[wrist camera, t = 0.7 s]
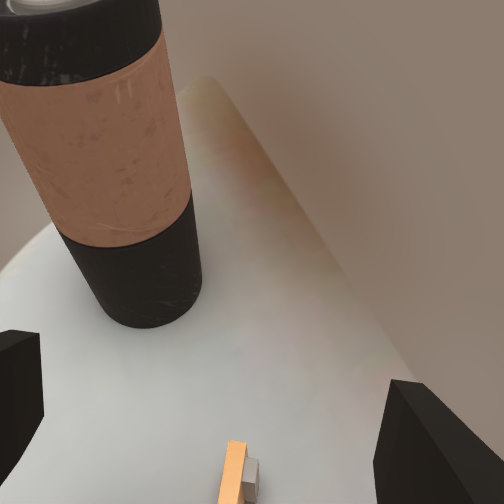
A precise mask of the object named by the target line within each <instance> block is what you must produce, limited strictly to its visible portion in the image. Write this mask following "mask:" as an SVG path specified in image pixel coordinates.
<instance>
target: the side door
mask: <svg viewBox="0 0 504 504" xmlns="http://www.w3.org/2000/svg"><path fill="white" fill-rule="evenodd" d="M258 487H259V463H258V459H254V458H248V453H247V443H244V442H238V441H231V440H229V442H228V448H227V454H226V459H225V465H224V470H223V476H222V482H221V487H220V493H219V498H218V504H245V501H248V502H254V503H256V502H257V494H258Z"/></svg>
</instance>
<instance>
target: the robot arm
mask: <svg viewBox="0 0 504 504" xmlns="http://www.w3.org/2000/svg"><path fill="white" fill-rule="evenodd" d="M43 417H44V404H43V387H42V370H41V352H40V335H39V333H33V332H26V331H18V330H8V331H4V332H1V333H0V486H1V485H2V483H3V482H4V481H5V479H6V478H7V477H8V475H9V474H10V473H11V471H12V470H13V468H14V467H15V466H16V464H17V463H18V461H19V460H20V458H21V457H22V455H23V453H24V451H25V450H26V448H27V446H28V445H29V443H30V441H31V439H32V438H33V436H34V434H35V432H36V430H37V428H38V427H39V425H40V423H41V421H42V419H43ZM373 468H374V478H375V488H376V497H377V504H504V461H503V460H501V458H500V457H499V456H497V455H496V454H495V453H494V452H493V451H492V450H491V449H490V448H489V447H488V446H487V445H486V444H485V443H484V442H483V441H482V440H481V439H479V437H477V436H476V435H475V434H474V433H473V432H472V431H471V430H470V429H469V428H468V427H467V426H466V425H465V424H464V423H463V422H462V421H461V420H460V419H459V418H458V417H457V416H456V415H455V414H454V413H453V412H452V411H451V410H450V409H449V408H448V407H447V406H446V405H445V404H444V403H443V402H442V401H441V400H440V399H439V398H438V397H437V396H436V395H435V394H434V393H433V392H432V391H431V390H429V389H428V388H427V387H426V386H425V385H424V384H423V383H416V382H408V381H401V380H393V379H391V382H390V387H389V392H388V396H387V401H386V405H385V410H384V414H383V419H382V423H381V428H380V432H379V437H378V441H377V446H376V450H375V455H374V459H373Z"/></svg>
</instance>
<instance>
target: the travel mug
mask: <svg viewBox="0 0 504 504" xmlns="http://www.w3.org/2000/svg"><path fill="white" fill-rule="evenodd" d="M0 117H1V119H2V121H3V123H4V125H5V127H6V129H7V131H8V133H9V135H10V137H11V139H12V141H13V143H14V145H15V147H16V149H17V151H18V153H19V155H20V157H21V159H22V161H23V163H24V165H25V167H26V169H27V171H28V173H29V175H30V177H31V179H32V181H33V183H34V185H35V187H36V189H37V191H38V193H39V195H40V197H41V199H42V201H43V203H44V205H45V207H46V209H47V211H48V213H49V215H50V217H51V219H52V221H53V223H54V225H55V226H56V228H57V230H58V232H59V234H60V235H61V237H62V239H63V241H64V242H65V244H66V246H67V248H68V249H69V251H70V253H71V255H72V256H73V258H74V260H75V262H76V263H77V265H78V267H79V269H80V270H81V272H82V274H83V276H84V277H85V279H86V281H87V283H88V284H89V286H90V288H91V290H92V291H93V293H94V295H95V296H96V298H97V300H98V301H99V303H100V305H101V306H102V308H103V309H104V310H105V312H106V313H107V314H108V315H109V316H110V317H111V318H112V319H114V320H115V321H117V322H119V323H121V324H123V325H126V326H129V327H134V328H152V327H157V326H161V325H164V324H167V323H169V322H171V321H173V320H175V319H177V318H178V317H180V316H181V315H183V314H184V313H185V312H186V311H187V310H188V309H189V308H190V307H191V306H192V305H193V303H194V302H195V300H196V298H197V296H198V294H199V291H200V288H201V283H202V272H201V262H200V254H199V246H198V238H197V230H196V222H195V214H194V206H193V197H192V190H191V182H190V176H189V171H188V165H187V159H186V154H185V148H184V143H183V137H182V131H181V126H180V120H179V115H178V109H177V103H176V98H175V93H174V87H173V81H172V76H171V70H170V65H169V59H168V53H167V48H166V42H165V36H164V31H163V26H162V21H161V14H160V8H159V3H158V0H0Z"/></svg>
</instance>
